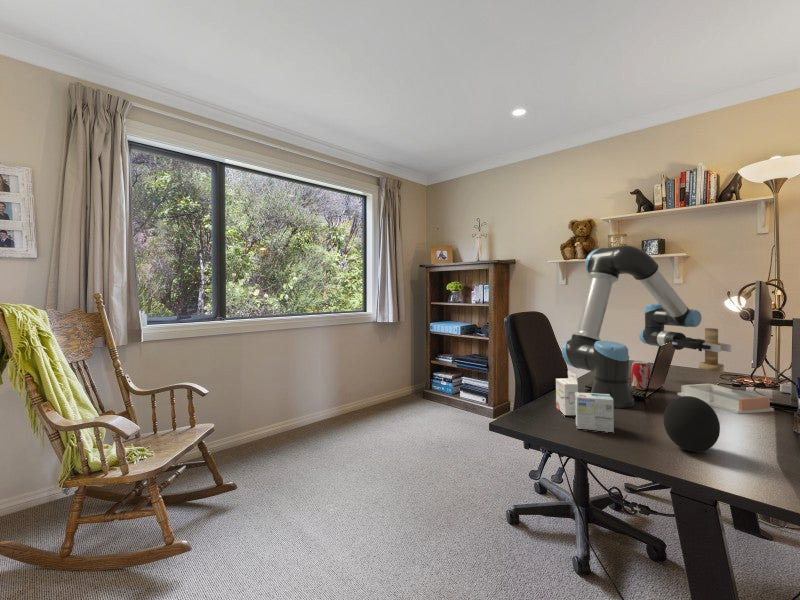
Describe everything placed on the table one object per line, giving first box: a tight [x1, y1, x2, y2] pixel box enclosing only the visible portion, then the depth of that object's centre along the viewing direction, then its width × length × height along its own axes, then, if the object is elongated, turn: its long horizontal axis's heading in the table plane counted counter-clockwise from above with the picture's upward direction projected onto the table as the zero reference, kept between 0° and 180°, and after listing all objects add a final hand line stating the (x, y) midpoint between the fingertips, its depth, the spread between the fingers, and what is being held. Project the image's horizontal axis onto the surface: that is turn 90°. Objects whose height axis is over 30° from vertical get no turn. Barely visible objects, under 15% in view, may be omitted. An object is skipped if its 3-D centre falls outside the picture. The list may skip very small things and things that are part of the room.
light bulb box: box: [575, 391, 615, 434], centre depth 122 cm, size 11×7×11 cm, turn 71°
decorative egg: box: [663, 396, 721, 453], centre depth 104 cm, size 12×12×15 cm
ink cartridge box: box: [555, 370, 579, 416], centre depth 137 cm, size 9×5×15 cm, turn 179°
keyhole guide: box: [677, 383, 775, 415], centre depth 145 cm, size 15×24×5 cm, turn 8°
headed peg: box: [698, 327, 725, 372], centre depth 149 cm, size 8×8×16 cm
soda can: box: [630, 360, 651, 388], centre depth 165 cm, size 7×7×12 cm
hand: (725, 348), depth 144 cm, fingers closed on headed peg, 4 cm apart
